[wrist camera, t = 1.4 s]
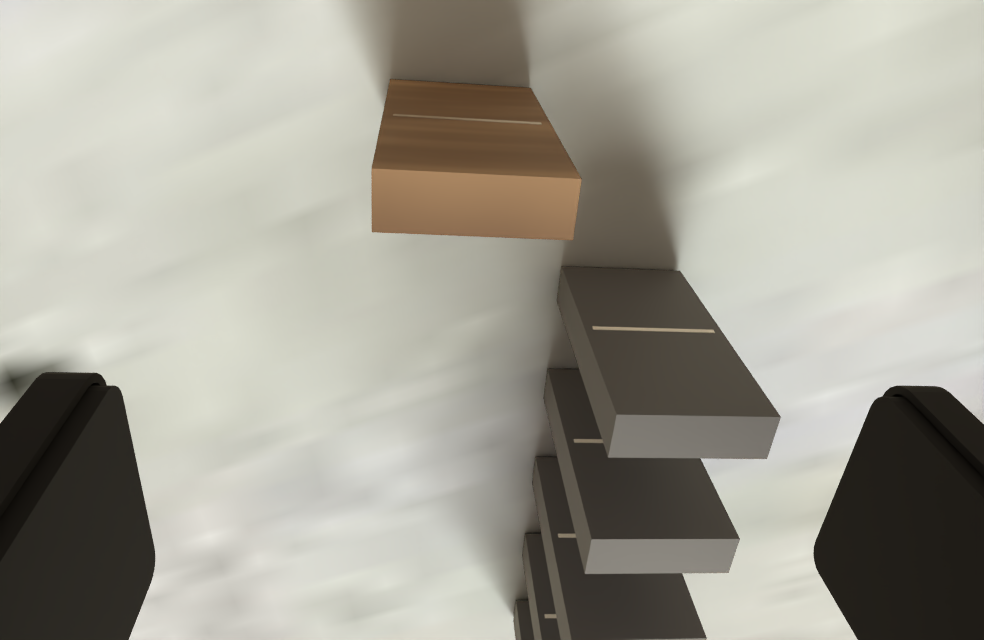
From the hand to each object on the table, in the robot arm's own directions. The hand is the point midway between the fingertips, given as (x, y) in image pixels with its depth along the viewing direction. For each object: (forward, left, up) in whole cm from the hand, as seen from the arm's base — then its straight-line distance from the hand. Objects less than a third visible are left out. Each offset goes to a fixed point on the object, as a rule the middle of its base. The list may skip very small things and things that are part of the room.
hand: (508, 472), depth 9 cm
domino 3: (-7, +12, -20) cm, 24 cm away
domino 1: (0, 0, -20) cm, 20 cm away
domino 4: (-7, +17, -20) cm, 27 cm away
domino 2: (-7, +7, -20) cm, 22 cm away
